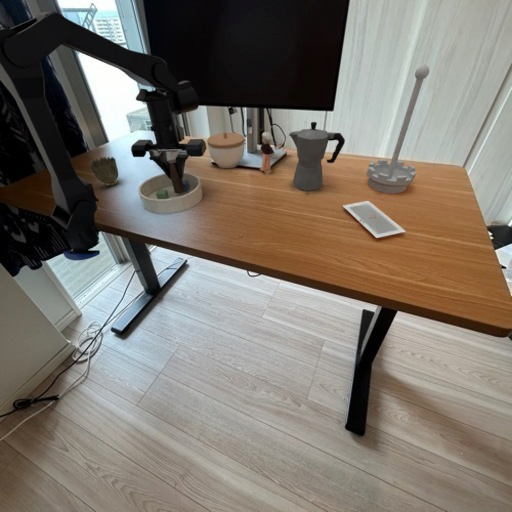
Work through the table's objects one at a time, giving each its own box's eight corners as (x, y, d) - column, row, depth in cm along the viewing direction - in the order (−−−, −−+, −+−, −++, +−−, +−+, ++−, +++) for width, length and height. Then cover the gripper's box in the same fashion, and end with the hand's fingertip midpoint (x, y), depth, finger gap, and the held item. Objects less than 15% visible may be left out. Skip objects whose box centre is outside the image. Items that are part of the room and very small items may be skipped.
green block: (166, 201, 77) (164, 193, 75) (158, 201, 77) (155, 193, 76) (169, 197, 79) (167, 189, 77) (160, 197, 79) (158, 189, 77)
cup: (101, 182, 89) (90, 158, 84) (124, 178, 91) (115, 154, 85) (98, 192, 84) (86, 167, 78) (123, 188, 85) (113, 163, 80)
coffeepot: (283, 188, 82) (285, 125, 70) (289, 175, 89) (293, 116, 77) (334, 195, 78) (346, 129, 66) (337, 180, 85) (349, 119, 73)
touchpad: (367, 204, 74) (369, 197, 72) (404, 235, 63) (407, 227, 62) (341, 209, 72) (343, 201, 71) (375, 241, 61) (377, 234, 60)
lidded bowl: (223, 175, 90) (219, 141, 83) (204, 164, 98) (199, 132, 91) (252, 164, 96) (251, 132, 89) (232, 155, 104) (229, 124, 96)
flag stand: (412, 197, 76) (463, 69, 56) (363, 191, 79) (395, 68, 59) (408, 178, 85) (451, 61, 65) (365, 173, 88) (393, 61, 69)
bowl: (195, 215, 72) (192, 200, 69) (133, 214, 73) (127, 200, 70) (207, 185, 85) (205, 172, 82) (154, 185, 86) (150, 172, 83)
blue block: (187, 191, 81) (185, 184, 79) (179, 191, 81) (177, 184, 80) (189, 188, 83) (188, 180, 81) (181, 187, 83) (180, 180, 82)
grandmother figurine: (254, 170, 93) (253, 131, 84) (262, 166, 95) (262, 128, 86) (270, 176, 89) (271, 136, 80) (278, 172, 91) (279, 133, 82)
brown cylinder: (183, 193, 78) (176, 163, 72) (173, 193, 78) (165, 163, 73) (185, 188, 81) (179, 159, 75) (175, 188, 81) (168, 159, 75)
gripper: (205, 110, 72) (213, 166, 82) (138, 111, 73) (154, 167, 83) (196, 122, 64) (206, 183, 74) (120, 123, 65) (140, 183, 75)
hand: (176, 178), depth 77 cm, fingers closed on brown cylinder, 3 cm apart
